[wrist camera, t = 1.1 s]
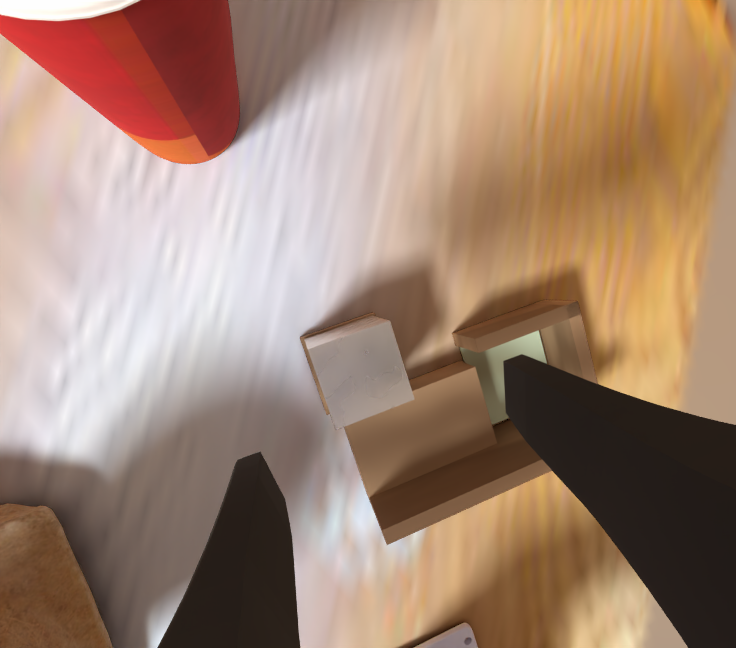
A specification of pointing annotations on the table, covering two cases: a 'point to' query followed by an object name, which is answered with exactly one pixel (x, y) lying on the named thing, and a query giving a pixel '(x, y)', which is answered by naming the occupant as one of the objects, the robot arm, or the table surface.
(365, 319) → the steel cube
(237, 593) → the robot arm
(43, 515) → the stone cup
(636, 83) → the table surface
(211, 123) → the paper cup
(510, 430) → the walnut cabinet
